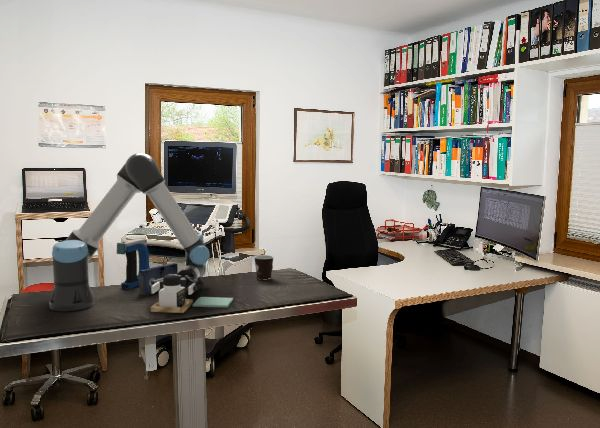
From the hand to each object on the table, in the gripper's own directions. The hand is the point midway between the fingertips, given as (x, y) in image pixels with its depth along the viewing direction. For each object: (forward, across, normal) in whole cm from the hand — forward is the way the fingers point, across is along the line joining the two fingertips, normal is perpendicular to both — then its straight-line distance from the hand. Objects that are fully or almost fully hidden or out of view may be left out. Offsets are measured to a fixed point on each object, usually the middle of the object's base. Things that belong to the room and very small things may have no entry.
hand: (170, 290), depth 182 cm
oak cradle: (-2, 0, -7) cm, 7 cm away
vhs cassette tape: (-25, +13, -7) cm, 29 cm away
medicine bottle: (-2, 0, -7) cm, 7 cm away
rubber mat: (-9, -13, -7) cm, 17 cm away
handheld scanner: (-30, +26, -7) cm, 41 cm away
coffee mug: (-48, -27, -7) cm, 56 cm away
